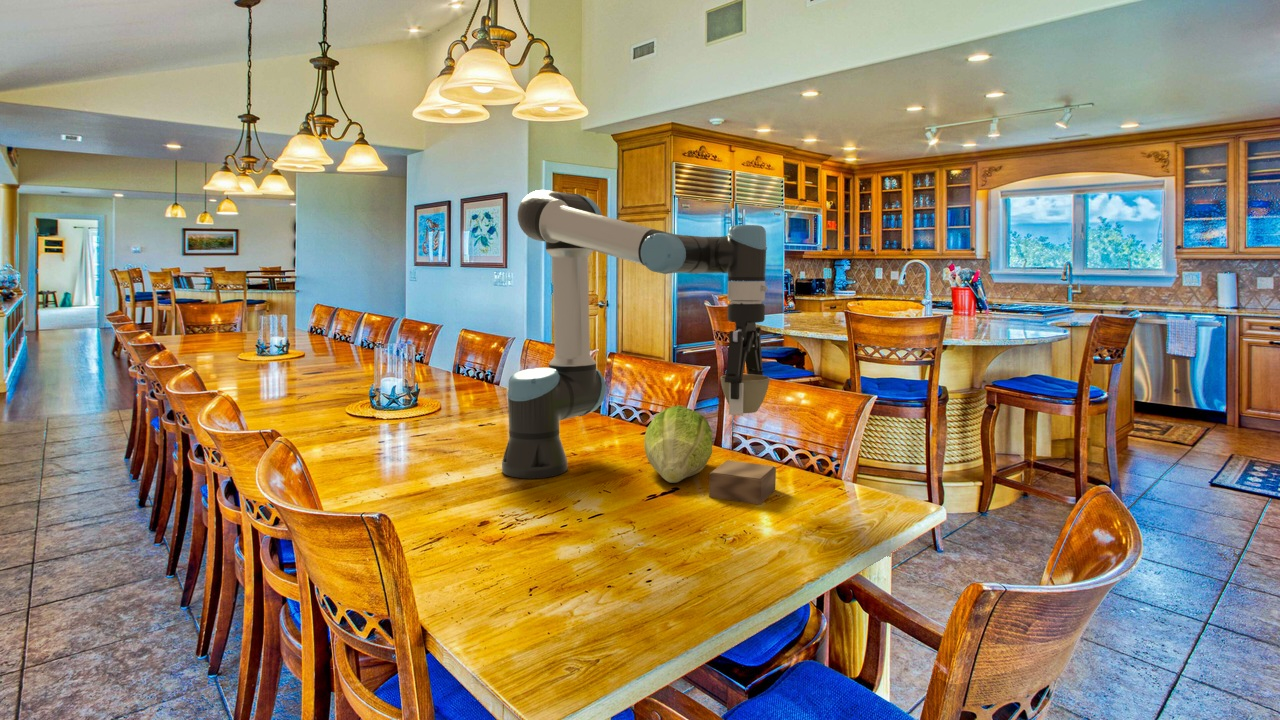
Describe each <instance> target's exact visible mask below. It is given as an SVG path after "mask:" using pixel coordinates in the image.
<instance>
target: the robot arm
mask: <svg viewBox="0 0 1280 720" xmlns="http://www.w3.org/2000/svg"><path fill="white" fill-rule="evenodd" d="M517 222H518V225H519V227H520V229H521V231H522V232H523V233H524V234H525V235H526V236H527V237H528V238H531V239H532V240H535V241H539V242H545V251H546V253H547V254H548V255H550V256H551V258H552V259H551V261H552V289H553V291H552V292H553V295H552V296H553V298H552V299H553V325H554V327H553V328H554V329H553V331H554V333H553V334H554V356H553V358H552V359H551V360H550V361H549V362H548V367H535V368H528V369H523V370H520V371H517V372H515V373H513V374H512V375H511V376H510V377H509V379H508V386H507V392H506V393H507V394H506V395H507V405H508V441H507V445H506V448H505V451H504V454H503V457H502V461H501V472H502V474H504V475H506V476H508V477H511V478H516V479H531V480H532V479H533V480H534V479H545V478H551V477H552V478H553V477H555V476H559V475H562V474H565V473H566V471H568V458H567V455H566V452H565V450H564V446H563V444H562V440H561V437H560V436H561V435H560V422H561V421H563V420H567V419H573V418H574V417H575V418H576V417H582V416H586V415H588V414H590V413H592V412H594V411H596V410H598V409H599V407H600V406H602V403H603V402H604V400H605V397H606V394H607V393H606V392H607V385H606V379H605V377H604V376H602V373H601V371H600V370H599V369H597V361H596V360H595V359H594V358H593V357H592V356H591V348H590V347H591V346H590V344H591V343H590V339H591V338H590V297H589V295H590V294H589V291H590V290H589V257H590V255H591V254H592V253H593V252H598V253H601V254H603V255H607V256H611V257H613V258H618V259H621V260H624V261H628V262H631V263H635V264H638V265H642V266H645V267H646V269H648V270H650V271H651V272H653V273H659V274H665V275H667V274H680V273H682V274H691V275H692V274H696V275H697V274H721V273H722V274H727V277H728V278H727V301H729V302H730V303H728V304H727V313H726V314H727V318H726V319H727V321H728V322H730V323H735V328H734V330H730V331H729V333H728V336H729V338H728V341H729V342H728V350H727V351H728V353H727V358H726V359H727V361H726V370H725V375H726V377H725V382H728V383H729V404H728V415H731V416H743V415H744V413H743V389H744V383H741V382H742V377H743V374H744V371H745V368H746V374H754V375H763V376H764V370H763V369H764V368H763V359H762V357H763V356H762V343H761V342H762V341H761V332H762V329H761V326H757V325H756V324H757V323H763V322H764V321H765V319H766V317H765V315H766V314H765V313H766V310H765V309H766V305H765V304H764V303H763V301H765V299H766V291H768V289H769V288H768V286H767V285H766V265H767V263H766V262H767V261H766V260H767V249H768V247H767V231H766V229H765V227H764V226H762V225H759V224H739V225H731V226H730V227H729V229H728V233H727V235H725V236H724V235H723V236H698V235H686V234H685V235H684V234H678V233H677V234H676V233H671V232H667V231H663V230H659V229H655V228H651V227H647V226H643V225H639V224H636V223H632V222H627V221H624V220H619V219H617V218H612V217H608V216H605V215H602V211H601V209H600V207H599V206H598V204H597V203H596V202H595V201H594V200H593V199H591V198H590V197H589V196H585V195H582V194H578V193H569V192H562V191H561V192H560V191H553V190H548V189H547V190H546V189H540V190H535V191H532V192H530V193H529V194H527V195H526V196H525V197H524V198H522V200H521V202H520V203H519V205H518V209H517ZM745 366H746V367H745Z"/></svg>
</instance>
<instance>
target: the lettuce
mask: <svg viewBox="0 0 1280 720" xmlns="http://www.w3.org/2000/svg"><path fill="white" fill-rule="evenodd" d="M643 449H644V452H645V456H646V458H647V461H648V462H649V464H650V465H651V467H652V468H653V469H654V470H655V471H656V473H658V474H659V475H660V477H661V478H663V479H664V480H665V481H666V482H668V483H669V484H670V483H671V484H672V483H679V482H681V481H683V480H684V479H687V478H691V477H692V476H694V475H696V474H698V473H700V472H701V471H702V470H704V468H705V467H706V465H707V463H708V461H709V460H710V458H711V456H712V455H713V433H712V429H711V426H710V424H709V421H708V420H707V419H706V418H705V417H704V416H703V415H702V414H701V413H700V412H697V411H695V410H694V409H691V408H688V407H685V406H682V405H679V404H678V405H673V406H671V407H667V408H665V409H663V410H662V411H660V412H658V413H657V414H656V415H655V416H654V417H653V419H652V420H651V422H650V423H649V425H648V426H647V427H646V430H645V434H644V448H643Z"/></svg>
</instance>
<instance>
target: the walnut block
mask: <svg viewBox="0 0 1280 720" xmlns="http://www.w3.org/2000/svg"><path fill="white" fill-rule="evenodd" d="M776 473H777V466H774V465H768V464H760V463H759V464H758V463H751V462H744V461H736V460H725V462H723V463H722V464H720V465H719V466H717V467H716V468H715V469H713V470H712V471H710V472H709V478H708V479H709V485H708V488H709V489H708V497H709V498H714V499H720V500H726V501H727V500H728V501H732V502H742V503H746V504H754V505H763V503H764V502H765V501H766V500H767V499H768V498H769V497H770V496H771V494H773V493H774V492H775V491H776V483H777V482H776V478H777V477H776V476H777V474H776Z"/></svg>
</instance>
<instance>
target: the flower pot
mask: <svg viewBox="0 0 1280 720" xmlns="http://www.w3.org/2000/svg"><path fill="white" fill-rule="evenodd" d="M725 377H726V374H724V375H721V376H720V384H721V390H722V391H723V395H724V398H725V401H726V402H727V404H728V405H729V383H728V382H725ZM741 383H744V389H743V414H753V413H754V414H755V413H756V412H758V411H759V409H760V408H761V406H762V404H763V402H764V400H765V398H766V395H767V392H768V388H769V384H770V377H769V376H767V375H764V374H763V375H754V374H748V373H746V374H745V373H743V377H742V382H741Z"/></svg>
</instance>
